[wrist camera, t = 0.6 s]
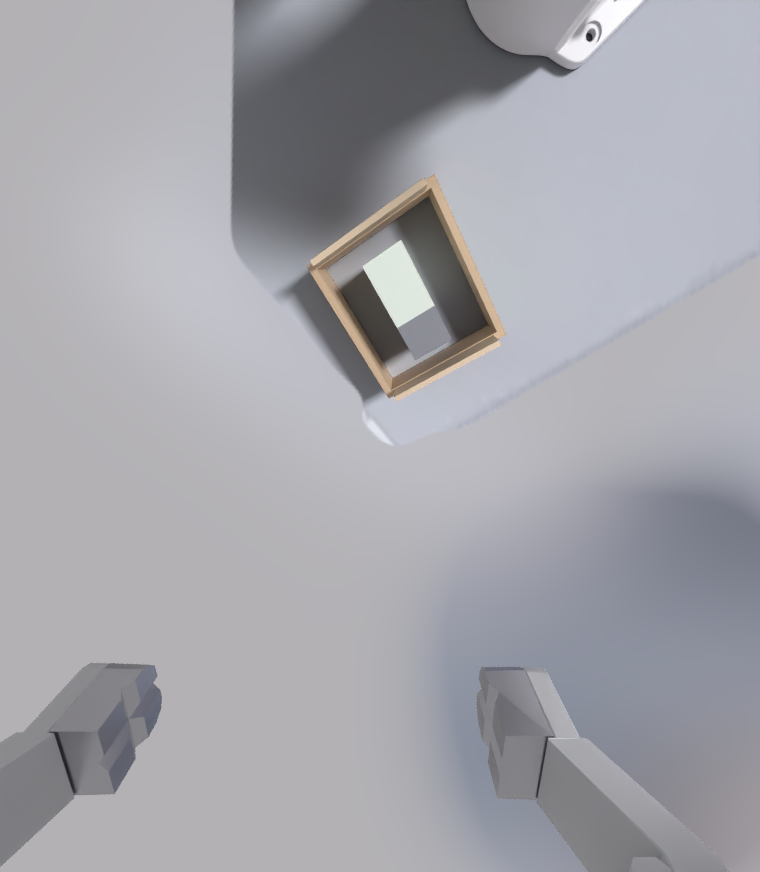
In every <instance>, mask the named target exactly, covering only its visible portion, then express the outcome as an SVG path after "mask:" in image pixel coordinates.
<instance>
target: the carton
mask: <svg viewBox="0 0 760 872" xmlns="http://www.w3.org/2000/svg"><path fill="white" fill-rule="evenodd" d="M428 196H429V198H430V200H431V203H432V205H433V207H434V209H435V211H436V213H437V216H438V218H439V220H440V222H441V224H442V226H443V228H444V231H445V233H446V235H447V237H448V239H449V241H450V244H451V246H452V248H453V250H454V252H455V254H456V257H457V259H458V261H459V263H460V265H461V267H462V269H463V272H464V274H465V276H466V278H467V280H468V282H469V285H470V287H471V289H472V291H473V293H474V295H475V298H476V300H477V302H478V304H479V306H480V308H481V310H482V313H483V315H484V317H485V319H486V321H487V323H488V325H487V326H485V327H483V328H481V329H480V330H478V331H476V332H474V333H473V334H471V335H469V336H467V337H465V338H464V339H462V340H460V341H458V342H457V343H455V344H453V345H451V346H449V347H448V348H446V349H444V350H442V351H441V352H439V353H437V354H435V355H433V356H432V357H430V358H428V359H426V360H425V361H423V362H421V363H419V364H417V365H416V366H414V367H412V368H410V369H409V370H407V371H405V372H403V373H401V374H400V375H398V376H396V377H394V378H392V377H391V375H390V373H389V372H388V370H387V368H386V367H385V365H384V363H383V362H382V360H381V358H380V357H379V355H378V353H377V352H376V350H375V348H374V347H373V345H372V343H371V342H370V340H369V338H368V337H367V335H366V333H365V332H364V330H363V328H362V327H361V325H360V323H359V322H358V320H357V319H356V317H355V315H354V314H353V312H352V310H351V309H350V307H349V305H348V304H347V302H346V300H345V299H344V297H343V295H342V294H341V292H340V290H339V289H338V287H337V285H336V284H335V282H334V280H333V279H332V277H331V275H330V274H329V272H328V270H327V268H328V267H329V266H331V265H332V264H334V263H335V262H336V261H338V260H339V259H341V258H342V257H343V256H345V255H346V254H348V253H349V252H351V251H352V250H353V249H355V248H356V247H358V246H359V245H360V244H362V243H363V242H365V241H366V240H367V239H369V238H370V237H372V236H373V235H374V234H376V233H377V232H379V231H380V230H382V229H383V228H384V227H386V226H387V225H389V224H390V223H391V222H393V221H394V220H396V219H397V218H398V217H400V216H401V215H403V214H404V213H405V212H407V211H408V210H410V209H411V208H413V207H414V206H415V205H417V204H418V203H420V202H421V201H422V200H424V199H425V198H427V197H428ZM310 262H311V264H310V265H308V266H307V268H308V269H309V271H310V273H311V274H312V276H313V277H314V279H315V281H316V282H317V284H318V286H319V287H320V289H321V290H322V292H323V294H324V295H325V297H326V298H327V300H328V302H329V303H330V305H331V306H332V308H333V310H334V311H335V313H336V314H337V316H338V318H339V319H340V321H341V322H342V324H343V326H344V327H345V329H346V331H347V332H348V334H349V335H350V337H351V339H352V340H353V342H354V343H355V345H356V347H357V348H358V350H359V351H360V353H361V355H362V356H363V358H364V359H365V361H366V363H367V364H368V366H369V367H370V369H371V371H372V372H373V374H374V376H375V377H376V379H377V380H378V382H379V384H380V385H381V387H382V388H383V390H384V392H385V393H386V395H387V396H388V398H391V397H393V396H394V398H395V400H396V401H398V400H400V399H402V398H404V397H406V396H408V395H410V394H411V393H413V392H415V391H417V390H419V389H421V388H423V387H424V386H426V385H428V384H430V383H432V382H434V381H435V380H437V379H439V378H441V377H443V376H445V375H447V374H448V373H450V372H452V371H454V370H456V369H458V368H460V367H461V366H463V365H465V364H467V363H469V362H471V361H473V360H474V359H476V358H478V357H480V356H482V355H484V354H486V353H487V352H489V351H491V350H493V349H495V348H497V347H499V346H500V345H501V343H500V341H499V338H501V337H502V336H504V335H506V332H505V330H504V328H503V326H502V323H501V321H500V319H499V317H498V314H497V312H496V310H495V308H494V305H493V303H492V301H491V299H490V297H489V294H488V292H487V290H486V288H485V285H484V283H483V281H482V279H481V276H480V274H479V272H478V270H477V268H476V265H475V263H474V261H473V259H472V256H471V254H470V252H469V250H468V247H467V245H466V243H465V241H464V239H463V236H462V234H461V232H460V230H459V227H458V225H457V223H456V221H455V218H454V216H453V214H452V212H451V210H450V207H449V205H448V203H447V201H446V198H445V196H444V194H443V192H442V189H441V187H440V185H439V183H438V181H437V178H436V176H435V174H434V175H433V176H431V177H430V178H428V179H427V180H425V177H424V178H423V179H421V180H420V181H418V182H417V183H416V184H414V185H413V186H412V187H410V188H409V189H407V190H406V191H405V192H403V193H402V194H401V195H399V196H398V197H397V198H395V199H394V200H392V201H391V202H390V203H388V204H387V205H386V206H384V207H383V208H381V209H380V210H379V211H377V212H376V213H375V214H373V215H372V216H370V217H369V218H368V219H366V220H365V221H364V222H362V223H361V224H359V225H358V226H357V227H355V228H354V229H353V230H351V231H350V232H349V233H347V234H346V235H344V236H343V237H342V238H340V239H339V240H338V241H336V242H335V243H333V244H332V245H331V246H329V247H328V248H327V249H325V250H324V251H322V252H321V253H320V254H318V255H317V256H316V257H314V258H313V259H312V260H310Z"/></svg>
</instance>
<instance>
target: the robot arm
mask: <svg viewBox="0 0 760 872" xmlns="http://www.w3.org/2000/svg"><path fill="white" fill-rule="evenodd" d="M466 1H467V4H468V7H469V9H470V12H471V14H472V16H473V18H474V20H475V21H476V23H477V25H478V26H479V28H480V29H481V31H482V32H483V33H484V34H485V35H486V36H487V37H488V38H489V39H490V40H491V41H492V42H493V43H494V44H496V45H497V46H499V47H500V48H502V49H504V50H506V51H509V52H512V53H515V54H520V55H541V56H546V57H549V58H550V59H552V60H553V61H554V62H556V63H557V64H559V65H561V66H563V67H565V68H567V69H576V68H578V67H580V66H581V65H583V64H584V63H585V62H586V61H587V60H588V59H589V58H590V57H591V56H592V55H593V54H594V53H595V52H596V51H597V50H598V48H599V47H600V46H601V45H602V44H603V43H604V42H605V41H606V40H607V39H608V38H609V37H610V36H611V35H612V34H613V33H614V32H615V31H616V30H617V29H618V28H619V27H620V26H621V25H622V24H623V23H624V22H625V21H626V20H627V19H628V18H629V17H630V16H631V15H632V14H633V13H634V12H635V11H636V10H637V9H638V8H639V7H640V6H641V5H642V4H643V3H644V2H645V1H646V0H466ZM587 33H590V34H591V35H592V41H591V42H588V41H587V40H586V34H587ZM156 677H157V673H156V669H155V666H154V665H140V664H115V663H111V664H109V663H107V664H106V663H90V664H88V665H87V666H85V667H83V668H82V669H81V670H80V671H79V672H78V673H77V674H76V676H75V677H74V678H73V679H72V680H71V681H70V682H69V683H68V684H67V685H66V686H65V687H64V689H63V690H62V691H61V692H60V693H59V694H58V695H57V696H56V697H55V699H53V700H52V702H51V703H50V704H49V705H48V706H47V707H46V708H45V709H44V710H43V711H42V712H41V713H40V715H39V716H38V717H37V718H36V719H35V720H34V721H33V722H32V723H31V724H30V725H29V727H28V728H27V729H26V730H25V731H24V732H22V733H15V734H13V735H12V736H10V737H8V738H7V739H5V740H4V741H2V742H0V867H1V866H2V865H3V864H4V863H5V862H6V861H7V860H8V859H9V858H10V857H11V856H12V855H14V854H15V853H16V852H17V851H18V850H19V849H20V848H21V847H22V846H23V845H24V844H25V843H26V842H28V841H29V840H30V839H31V838H32V837H33V836H34V835H35V834H36V833H37V832H38V831H39V830H40V829H41V828H43V827H44V826H45V825H46V824H47V823H48V822H49V821H50V820H51V819H52V818H53V817H54V816H55V815H57V814H58V813H59V812H60V811H61V810H62V809H63V808H64V807H65V806H66V805H67V804H68V803H69V802H71V800H73V799H74V795H94V794H95V795H97V794H115V792H116V791H117V789H118V787H119V786H120V784H121V782H122V781H123V779H124V777H125V776H126V774H127V772H128V770H129V769H130V767H131V765H132V764H133V762H134V760H135V748H136V747H137V746H138V745H139V744H140V743H141V742H143V741H144V740H145V739H146V738H148V737H149V735H150V733H151V731H152V729H153V728H154V726H155V724H156V722H157V719H158V716H159V713H160V710H161V701H162V696H161V691H160V689H159V688H157V686H155V685H154V684H153V682H154V681H155V679H156ZM479 681H480V684H481V688H482V689H481V690H480V691H479V692H478V694H477V714H478V721H479V727H480V732H481V736H482V740H483V741H484V743H485V744H486V745H487V746H488V747H489V748H490V749H489V759H488V764H489V768H490V772H491V775H492V780H493V783H494V787H495V791H496V795H497V798H506V799H527V800H537V804H538V805H539V806H540V808H541V809H542V810H543V811H544V813H545V814H546V815H547V817H548V818H549V820H550V821H551V822H552V824H553V825H554V826H555V828H556V829H557V830H558V832H559V833H560V834H561V836H562V837H563V838H564V840H565V841H566V842H567V844H568V845H569V846H570V848H571V849H572V851H573V852H574V853H575V855H576V856H577V857H578V858H579V860H580V861H581V862H582V864H583V865H584V867H585V868H586V869H587V871H588V872H728V870H727V869H726V867H725V866H724V864H723V863H722V861H721V860H720V858H719V856H718V855H717V854H715V853H714V852H713V851H712V850H711V849H710V848H709V847H708V846H707V845H706V844H704V843H703V842H702V841H701V840H700V839H699V838H698V837H697V836H695V835H694V834H693V833H692V832H691V831H690V830H689V829H688V828H687V827H685V826H684V825H683V824H682V823H681V822H680V821H679V820H678V819H676V818H675V817H674V816H673V815H672V814H671V813H670V812H669V811H667V810H666V809H665V808H664V807H663V806H662V805H661V804H660V803H658V802H657V801H656V800H655V799H654V798H653V797H652V796H651V795H649V794H648V793H647V792H646V791H645V790H644V789H643V788H642V787H641V786H640V785H638V784H637V783H636V782H635V781H634V780H633V779H632V778H630V777H629V776H628V775H627V774H626V773H625V772H624V771H623V770H622V769H621V768H619V767H618V766H617V765H616V764H615V763H614V762H613V761H611V759H609V758H608V757H607V756H606V755H605V754H604V753H603V752H602V751H600V750H599V749H598V748H597V747H596V746H595V745H594V744H593V743H592V742H590V741H589V740H588V739H587V738H580V737H579V735H578V733H577V731H576V729H575V727H574V725H573V723H572V721H571V719H570V717H569V715H568V713H567V711H566V709H565V707H564V705H563V703H562V701H561V699H560V697H559V695H558V693H557V691H556V689H555V687H554V685H553V683H552V681H551V679H550V677H549V675H548V673H547V672H546V670H545V669H544V668H542V667H522V668H521V667H482V668H481V670H480V675H479Z"/></svg>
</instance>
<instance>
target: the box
mask: <svg viewBox="0 0 760 872" xmlns="http://www.w3.org/2000/svg"><path fill="white" fill-rule="evenodd" d="M362 267H363V269H364V270H365V272H366V274H367V276H368V278H369V279H370V281H371V283H372V285H373V286H374V288H375V290H376V292H377V293H378V295H379V297H380V299H381V301H382V302H383V304H384V306H385V308H386V309H387V311H388V313H389V315H390V317H391V318H392V320H393V322H394V324H395V325H396V327H397V329H398V331H399V332H400V334H401V336H402V338H403V340H404V341H405V343H406V345H407V347H408V348H409V350H410V352H411V354H412V355H413V357H414V359H415V360H416V359H418V358H420V357H422V356H423V355H425V354H427V353H429V352H430V351H432V350H434V349H436V348H437V347H439V346H441V345H443V344H444V343H446V342H448V341H450V340H451V339H452V338H451V336H450V334H449V333H448V331H447V329H446V327H445V325H444V323H443V321H442V319H441V317H440V315H439V313H438V311H437V309H436V307H435V305H434V303H433V301H432V299H431V297H430V295H429V293H428V291H427V289H426V288H425V286H424V284H423V282H422V280H421V278H420V276H419V274H418V272H417V270H416V268H415V266H414V264H413V262H412V260H411V258H410V256H409V254H408V252H407V250H406V248H405V246H404V244H403V243H402V241H401V240H400V241H399V242H397V243H396V244H394V245H393V246H391V247H390V248H388V249H387V250H385V251H384V252H383V253H381V254H380V255H378V256H377V257H375V258H374V259H372V260H371V261H369V262H368V263H367V264H365V265H364V266H362Z"/></svg>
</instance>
